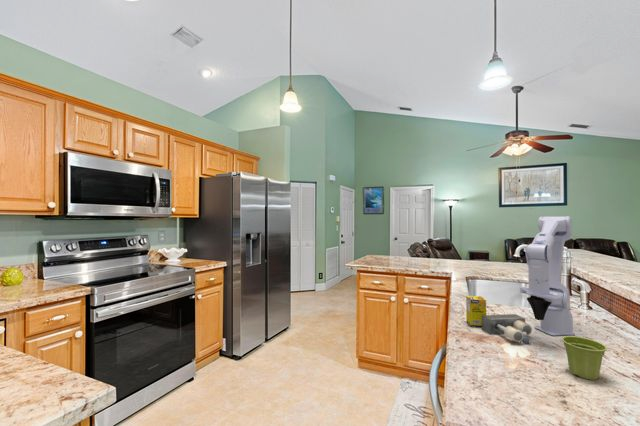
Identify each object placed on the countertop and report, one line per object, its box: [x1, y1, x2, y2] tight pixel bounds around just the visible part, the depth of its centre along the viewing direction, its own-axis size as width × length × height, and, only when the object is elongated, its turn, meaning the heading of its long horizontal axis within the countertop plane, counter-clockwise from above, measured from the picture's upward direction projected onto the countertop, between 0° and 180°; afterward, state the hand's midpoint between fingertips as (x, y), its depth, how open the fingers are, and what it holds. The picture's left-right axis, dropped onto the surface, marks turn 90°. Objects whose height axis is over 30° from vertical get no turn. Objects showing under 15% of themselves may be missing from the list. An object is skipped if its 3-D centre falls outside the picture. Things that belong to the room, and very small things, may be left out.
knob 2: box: [513, 320, 533, 336], centre depth 113 cm, size 4×10×4 cm, turn 6°
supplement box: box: [465, 295, 487, 329], centre depth 122 cm, size 6×6×11 cm
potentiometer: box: [519, 332, 531, 345], centre depth 104 cm, size 4×3×4 cm
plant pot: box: [561, 335, 608, 380], centre depth 83 cm, size 9×9×9 cm
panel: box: [481, 313, 526, 336], centre depth 115 cm, size 14×5×6 cm, turn 96°
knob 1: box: [495, 323, 523, 343], centre depth 108 cm, size 4×10×4 cm, turn 6°
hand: (539, 319), depth 103 cm, fingers closed
